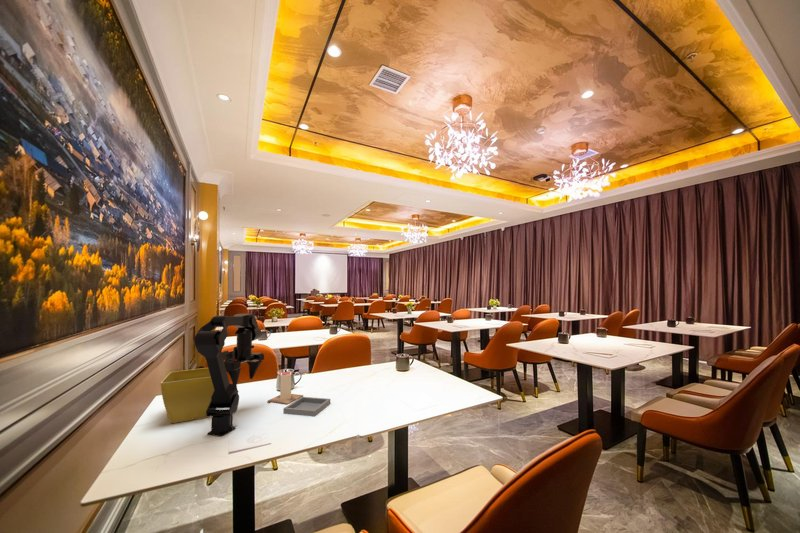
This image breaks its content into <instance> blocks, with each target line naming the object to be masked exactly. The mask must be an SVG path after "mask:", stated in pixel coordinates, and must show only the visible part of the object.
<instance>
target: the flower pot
mask: <svg viewBox="0 0 800 533" xmlns="http://www.w3.org/2000/svg"><path fill="white" fill-rule="evenodd" d="M160 391H161V396H162V400H163V401H162V402H163V405H164V409H165V412H166V414H167V418H168V419H169V422H170V424H176V423H181V422H186V421H187V422H188V421H194V420H200V419H205V418H208V417H207V415H206V411H207V408H208V406H209V404H210V402H211V396H212V394H213V392H214V387H213V383H212V380H211V376H210V373H209V369H208V367H202V368H193V369H185V370H177V371H170V372H169V373H168V374H167V375H166V376H165V377H164V378H163V380H162V381H160Z"/></svg>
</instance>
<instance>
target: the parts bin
mask: <svg viewBox="0 0 800 533" xmlns="http://www.w3.org/2000/svg"><path fill="white" fill-rule="evenodd" d="M330 405H331V398H322V397H310V396H303V397H301V398H299V399H297V400H296V401H294V402H292V403H290V404H288V405H286V406H285V407H283V414H285V415H294V416H305V417H316V416H317V415H319V414H320V413H321V412H322V411H323V410H325V408H327V407H328V406H330Z"/></svg>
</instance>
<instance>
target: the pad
mask: <svg viewBox="0 0 800 533" xmlns="http://www.w3.org/2000/svg"><path fill="white" fill-rule="evenodd" d="M301 397H304V394H296V393H295V394H294V393H291V399H287V400H280V394H279V395H277V396H275V397H272V398H270V399H268V400H267V401H266V402H267V404H271V403H273V404H277V405H286V406H288V405H290V404H291V403H293V402H294V401H296V400H298V399H299V398H301Z"/></svg>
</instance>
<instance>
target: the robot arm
mask: <svg viewBox="0 0 800 533" xmlns="http://www.w3.org/2000/svg"><path fill="white" fill-rule="evenodd" d="M231 326H233V327H234V328H237V330H236V331H235V332H234V335H236V346H234V347H233V350H232V351H229V350H224V351H222V350H223V348H224V347H225V344H226V343H225V340H226V339H227V338H228V335H229V333H228V327H231ZM215 328H222V329H221V330H215ZM261 336H262V330H261V328H259V325H258V321H257V318H256V316H255V314H254V313H237V314H234V315H233V316H232V315H231V316H227V315H214V316H212V318H211V319H210V321H209V322H207V323H205V324H204V325H202V326H201V327H200V328H199V330H198V331H197V333H196V334H195V335H194V337H193V344H194V347H195V350H196V351H197V353H198V354H200V355H201V356H203V358H205V360H206V365H207V368H208V369H209V373H210V376H211V380H212V383H213V387H214V392H213V394H212V396H211V402H210V404H209V406H208V408H207V411H206V415H207V417H206V418H208V417H211V425H210V427H211V428H210V431H208V432H207V435H209V436H217V437H224V436H225V435H227V434H228V433H230V432H232V431H233V430H235V429H236V426H233V421H234V420H233V418H234V414H236V413H237V411H238V407H239V401H240V395H239V391H238V381H239V377H240V373H241V365H243V364H244V363H247V365H248V369H249V371H248V372H249V379H251V380H253V378H254V376H255V374H256V372H257V370H258V369H259V367H260V365H261V363H262V362H263V361H264V360H265V354H264V353H263V352H253V350H252V349H254V348H255V345H254V344H253V342H254V341H257V340H259V339H260V338H261ZM229 377H230V379H231V380H230V381H231V382H232V383H230V381H229Z"/></svg>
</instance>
